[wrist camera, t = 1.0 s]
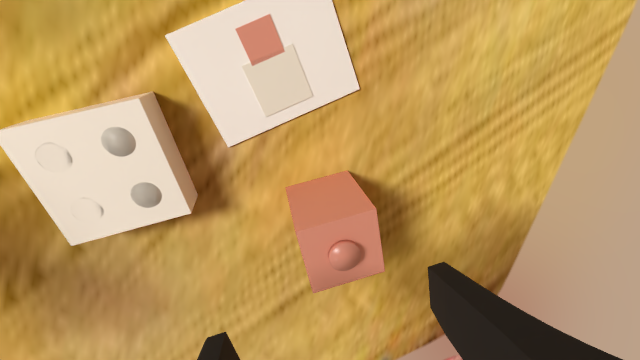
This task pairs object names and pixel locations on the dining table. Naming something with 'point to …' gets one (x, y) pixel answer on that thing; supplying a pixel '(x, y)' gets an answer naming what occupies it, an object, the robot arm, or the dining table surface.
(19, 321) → the dining table surface
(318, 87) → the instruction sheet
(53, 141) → the base brick
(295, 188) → the red brick
